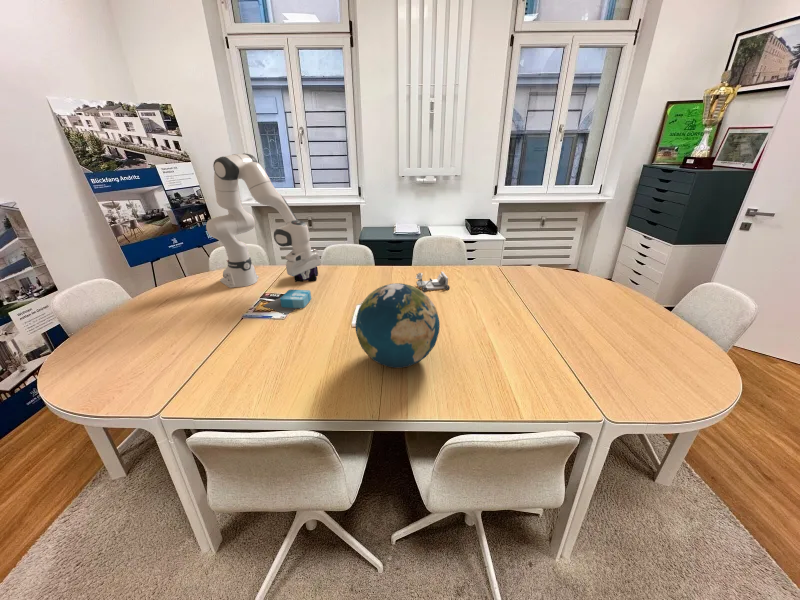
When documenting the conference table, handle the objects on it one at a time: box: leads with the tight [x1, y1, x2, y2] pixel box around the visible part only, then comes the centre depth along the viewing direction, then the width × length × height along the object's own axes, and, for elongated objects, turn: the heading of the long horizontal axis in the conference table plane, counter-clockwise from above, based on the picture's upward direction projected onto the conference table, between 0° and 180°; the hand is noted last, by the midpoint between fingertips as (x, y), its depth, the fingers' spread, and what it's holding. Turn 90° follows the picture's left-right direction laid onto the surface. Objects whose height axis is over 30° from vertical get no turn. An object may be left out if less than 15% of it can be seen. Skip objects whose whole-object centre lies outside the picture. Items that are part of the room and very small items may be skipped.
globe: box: [355, 282, 441, 369], centre depth 124 cm, size 30×30×30 cm
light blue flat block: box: [279, 289, 312, 309], centre depth 174 cm, size 12×4×12 cm
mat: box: [262, 297, 299, 315], centre depth 174 cm, size 17×13×1 cm
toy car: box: [415, 270, 450, 293], centre depth 190 cm, size 18×10×12 cm
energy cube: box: [293, 266, 319, 283], centre depth 204 cm, size 12×12×12 cm
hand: (306, 278), depth 182 cm, fingers closed
